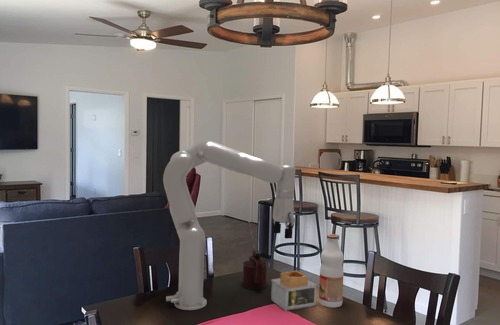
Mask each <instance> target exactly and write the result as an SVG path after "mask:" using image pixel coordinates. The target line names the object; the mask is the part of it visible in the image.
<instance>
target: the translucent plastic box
mask: <svg viewBox="0 0 500 325" xmlns="http://www.w3.org/2000/svg"><path fill="white" fill-rule="evenodd" d="M291 276H299V277H294V278H291ZM270 281H271V284H270V286H271V287H270V300H271V301H272V302H273V303H275V304H276V305H277V306H278V305H279V308H281V309H282V308H283V310H284V312H289V311H293V310H294V311H295V310H299V309H305V308H313V307H316V306H317V292H318V291H317V290H318V289H317V287H318V284H316V283H315V282H313V281H311V280H309V276H307V275H306V274H303V272H301V271H299V270H292V271H285V272H280V277H279V278H273V279H272V278H271V280H270ZM295 290H298V295H297V302H296V303H291V302H289V301H288V296H289V291H295Z"/></svg>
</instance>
